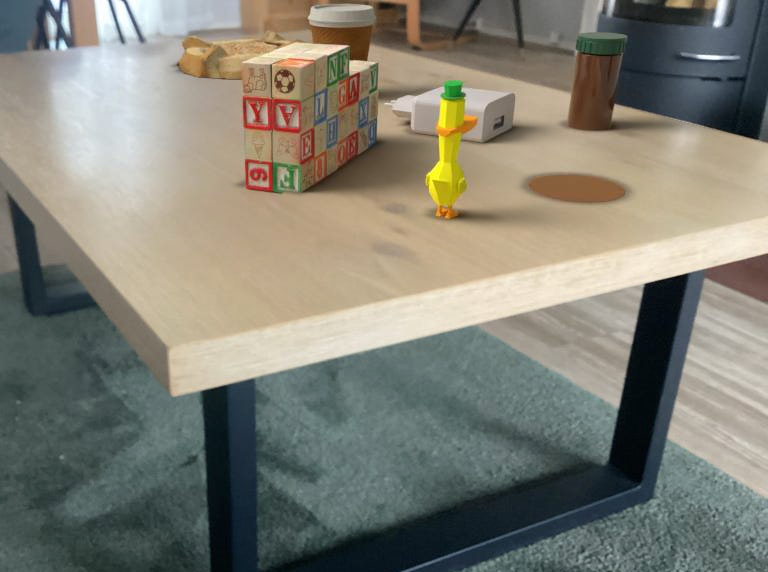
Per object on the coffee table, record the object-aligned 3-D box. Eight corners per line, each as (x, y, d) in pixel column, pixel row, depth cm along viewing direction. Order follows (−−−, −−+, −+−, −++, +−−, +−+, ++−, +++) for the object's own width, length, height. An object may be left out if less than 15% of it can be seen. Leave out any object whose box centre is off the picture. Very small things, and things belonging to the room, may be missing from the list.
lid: (626, 48, 104) (629, 33, 103) (624, 55, 99) (626, 40, 98) (577, 45, 106) (580, 31, 105) (573, 53, 101) (575, 37, 100)
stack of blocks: (327, 139, 103) (329, 29, 97) (377, 144, 101) (382, 32, 95) (244, 188, 86) (240, 59, 80) (301, 196, 84) (301, 64, 78)
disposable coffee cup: (300, 101, 122) (300, 10, 116) (315, 88, 130) (315, 2, 124) (367, 104, 120) (371, 12, 114) (377, 91, 128) (381, 4, 122)
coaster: (626, 183, 87) (627, 179, 86) (621, 210, 79) (622, 206, 79) (534, 174, 90) (535, 170, 89) (521, 200, 82) (522, 196, 82)
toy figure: (448, 204, 81) (459, 72, 75) (482, 211, 79) (497, 76, 74) (411, 223, 77) (420, 84, 71) (447, 232, 75) (459, 89, 69)
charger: (404, 115, 114) (512, 130, 106) (368, 129, 107) (481, 146, 100) (406, 78, 112) (516, 91, 104) (370, 90, 105) (485, 104, 97)
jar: (611, 125, 108) (626, 37, 103) (608, 135, 104) (624, 44, 99) (568, 122, 110) (581, 35, 105) (564, 131, 106) (577, 42, 101)
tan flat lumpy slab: (323, 56, 156) (323, 26, 153) (305, 81, 135) (305, 47, 133) (195, 53, 159) (193, 24, 157) (158, 77, 138) (156, 45, 136)
